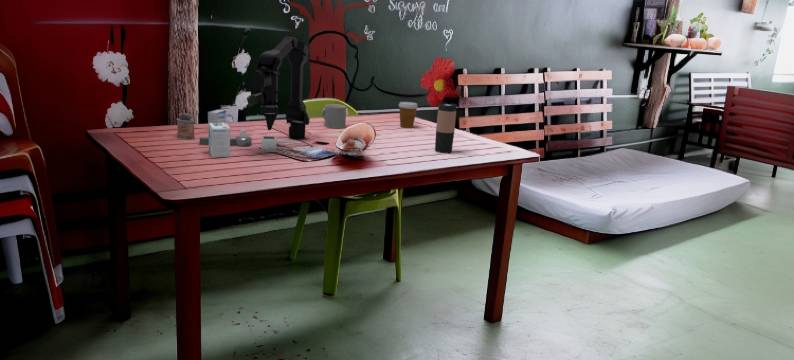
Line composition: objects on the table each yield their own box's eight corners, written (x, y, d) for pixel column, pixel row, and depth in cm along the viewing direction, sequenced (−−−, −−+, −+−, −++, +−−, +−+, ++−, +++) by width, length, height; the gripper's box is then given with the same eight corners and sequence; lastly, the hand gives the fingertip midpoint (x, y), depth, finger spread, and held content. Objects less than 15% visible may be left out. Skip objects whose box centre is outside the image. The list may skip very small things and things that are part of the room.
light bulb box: (208, 150, 227) (207, 122, 224) (226, 150, 230) (226, 122, 227) (211, 157, 218) (211, 128, 215) (230, 157, 221) (230, 128, 218)
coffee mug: (349, 128, 288) (350, 107, 285) (331, 129, 281) (332, 108, 279) (333, 122, 297) (334, 102, 295) (316, 124, 291) (317, 103, 288)
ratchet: (251, 143, 243) (251, 128, 242) (251, 147, 237) (251, 132, 236) (200, 142, 239) (200, 127, 238) (199, 145, 233) (198, 130, 232)
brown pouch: (175, 137, 244) (174, 112, 241) (180, 135, 247) (180, 111, 244) (191, 140, 241) (190, 115, 239) (196, 138, 244) (196, 114, 242)
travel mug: (440, 153, 249) (444, 105, 244) (430, 149, 256) (435, 102, 250) (455, 153, 253) (460, 105, 247) (446, 148, 259) (450, 102, 254)
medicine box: (217, 132, 257) (217, 112, 255) (208, 131, 258) (207, 111, 256) (226, 129, 265) (226, 110, 263) (217, 128, 266) (216, 109, 263)
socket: (276, 148, 237) (276, 136, 236) (276, 152, 232) (276, 139, 231) (261, 148, 236) (261, 135, 235) (261, 151, 231) (261, 139, 230)
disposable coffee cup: (404, 124, 306) (406, 101, 303) (419, 127, 301) (421, 103, 298) (393, 126, 299) (394, 102, 295) (408, 129, 294) (410, 105, 290)
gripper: (248, 82, 235) (248, 122, 239) (246, 89, 217) (246, 132, 221) (277, 84, 237) (277, 123, 241) (278, 91, 219) (277, 133, 224)
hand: (269, 127), depth 232 cm, fingers open, 9 cm apart
